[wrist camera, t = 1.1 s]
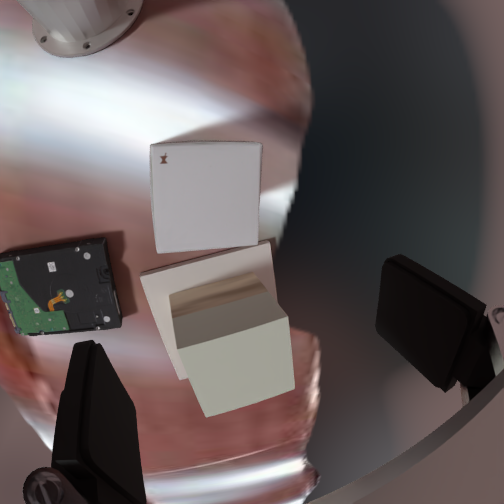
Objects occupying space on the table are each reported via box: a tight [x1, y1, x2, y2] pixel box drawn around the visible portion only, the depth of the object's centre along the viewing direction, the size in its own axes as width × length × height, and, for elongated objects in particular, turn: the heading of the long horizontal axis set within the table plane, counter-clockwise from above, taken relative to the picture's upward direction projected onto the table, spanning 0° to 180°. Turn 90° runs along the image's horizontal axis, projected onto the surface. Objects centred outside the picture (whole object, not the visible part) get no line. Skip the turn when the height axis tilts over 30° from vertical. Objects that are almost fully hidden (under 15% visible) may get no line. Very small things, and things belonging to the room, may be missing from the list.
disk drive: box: [0, 237, 122, 336], centre depth 28 cm, size 10×3×15 cm
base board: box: [140, 240, 278, 380], centre depth 36 cm, size 16×15×1 cm
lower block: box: [169, 272, 268, 318], centre depth 34 cm, size 10×10×5 cm
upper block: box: [172, 291, 295, 417], centre depth 29 cm, size 10×10×5 cm
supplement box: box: [150, 141, 263, 253], centre depth 25 cm, size 7×7×13 cm
